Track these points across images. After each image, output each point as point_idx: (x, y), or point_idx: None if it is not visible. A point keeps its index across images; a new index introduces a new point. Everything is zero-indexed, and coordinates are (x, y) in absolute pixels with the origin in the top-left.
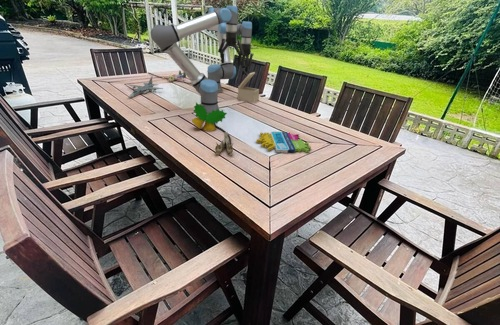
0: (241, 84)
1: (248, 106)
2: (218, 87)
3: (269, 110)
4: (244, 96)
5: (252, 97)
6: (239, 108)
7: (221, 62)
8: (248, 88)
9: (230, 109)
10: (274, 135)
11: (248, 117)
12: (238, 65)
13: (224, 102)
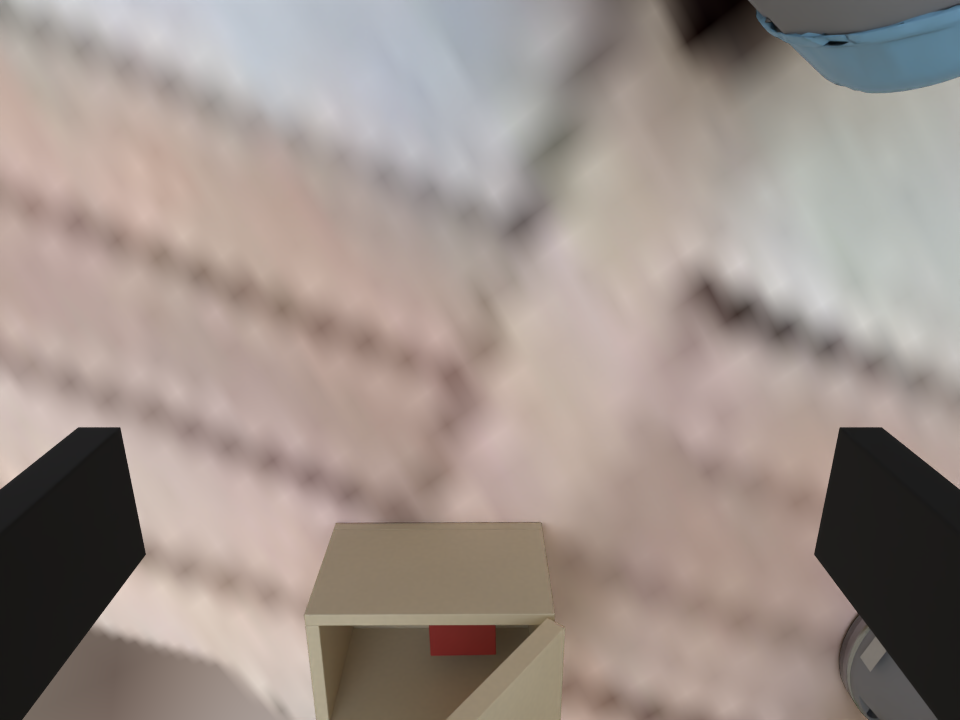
0: (510, 662)
1: (317, 387)
2: (897, 672)
3: (57, 400)
4: (455, 557)
5: (344, 561)
6: (359, 256)
7: (887, 440)
8: None
9: (425, 150)
10: None
11: (76, 2)
12: (74, 436)
13: (627, 352)
